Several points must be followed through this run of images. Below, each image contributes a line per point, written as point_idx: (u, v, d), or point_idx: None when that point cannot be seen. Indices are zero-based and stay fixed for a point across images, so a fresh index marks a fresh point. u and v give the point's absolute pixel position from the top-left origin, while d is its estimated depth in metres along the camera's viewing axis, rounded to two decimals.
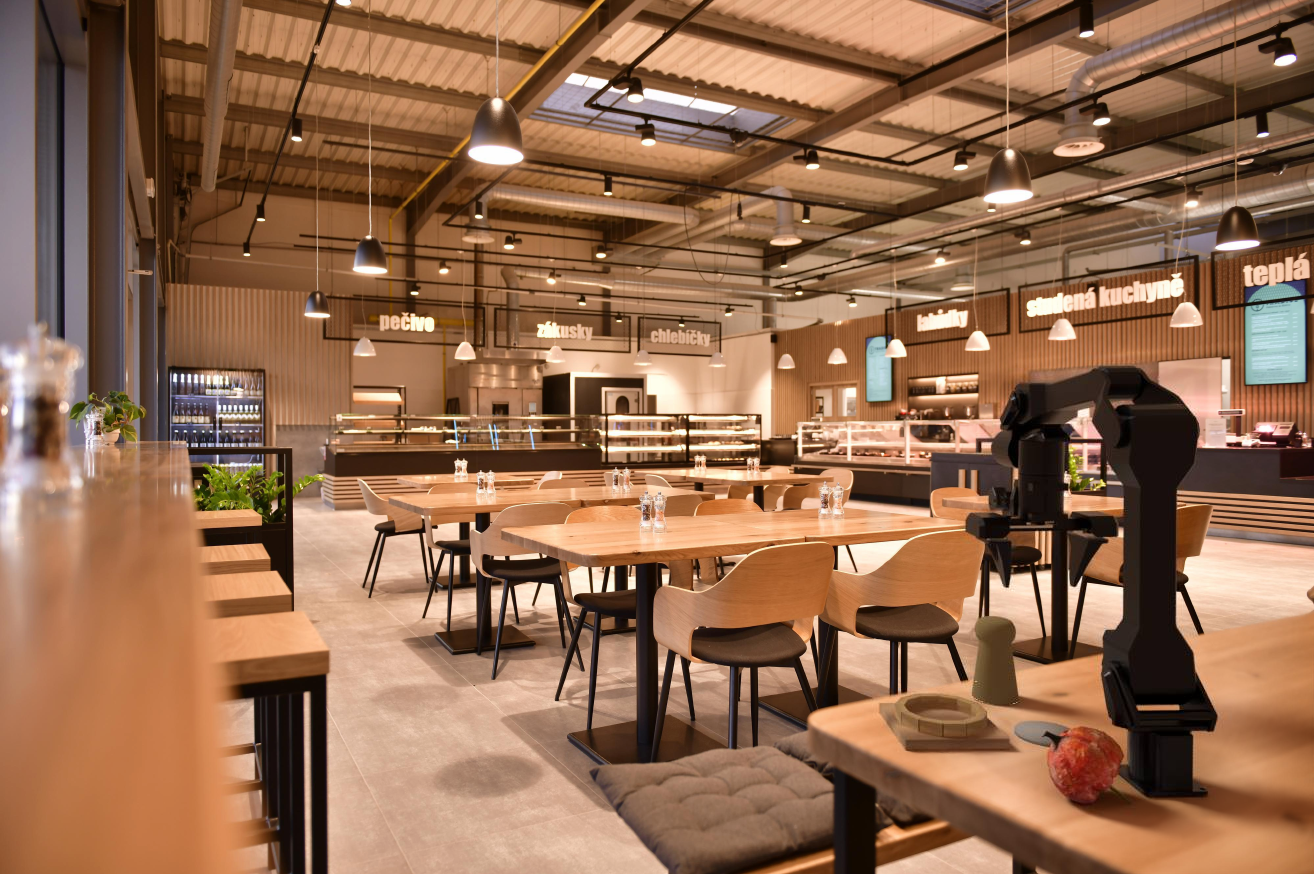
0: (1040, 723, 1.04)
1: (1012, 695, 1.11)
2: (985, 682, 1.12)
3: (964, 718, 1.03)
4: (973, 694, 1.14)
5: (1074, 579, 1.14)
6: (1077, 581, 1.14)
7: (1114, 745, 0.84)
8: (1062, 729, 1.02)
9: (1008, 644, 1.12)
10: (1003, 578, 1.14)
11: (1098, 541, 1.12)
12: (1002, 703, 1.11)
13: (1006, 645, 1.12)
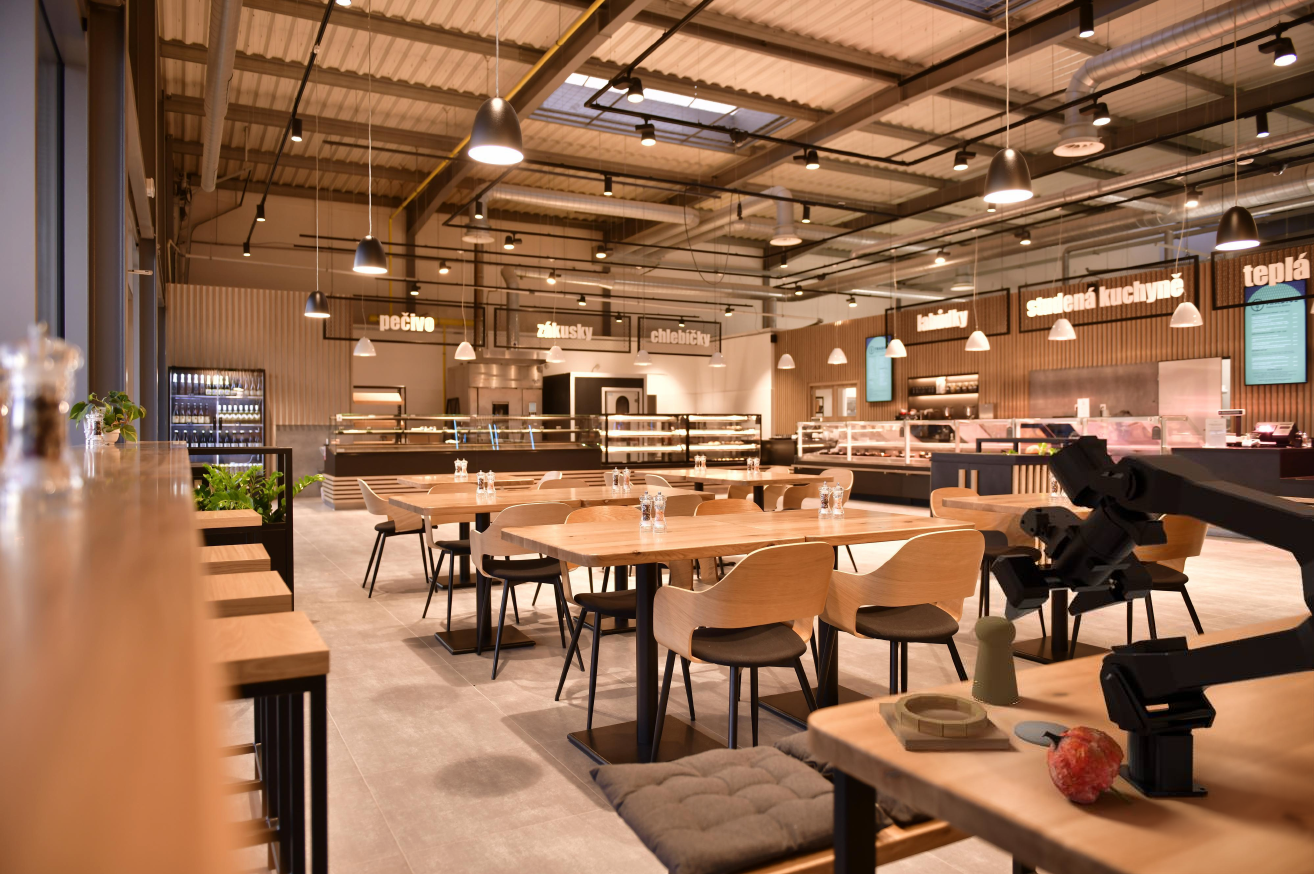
0: (1040, 723, 1.04)
1: (1012, 695, 1.11)
2: (985, 682, 1.12)
3: (964, 718, 1.03)
4: (973, 694, 1.14)
5: (1076, 613, 1.05)
6: (1078, 614, 1.05)
7: (1114, 745, 0.84)
8: (1062, 729, 1.02)
9: (1008, 645, 1.12)
10: (1010, 616, 1.03)
11: (1124, 601, 1.00)
12: (1002, 703, 1.11)
13: (1006, 645, 1.12)
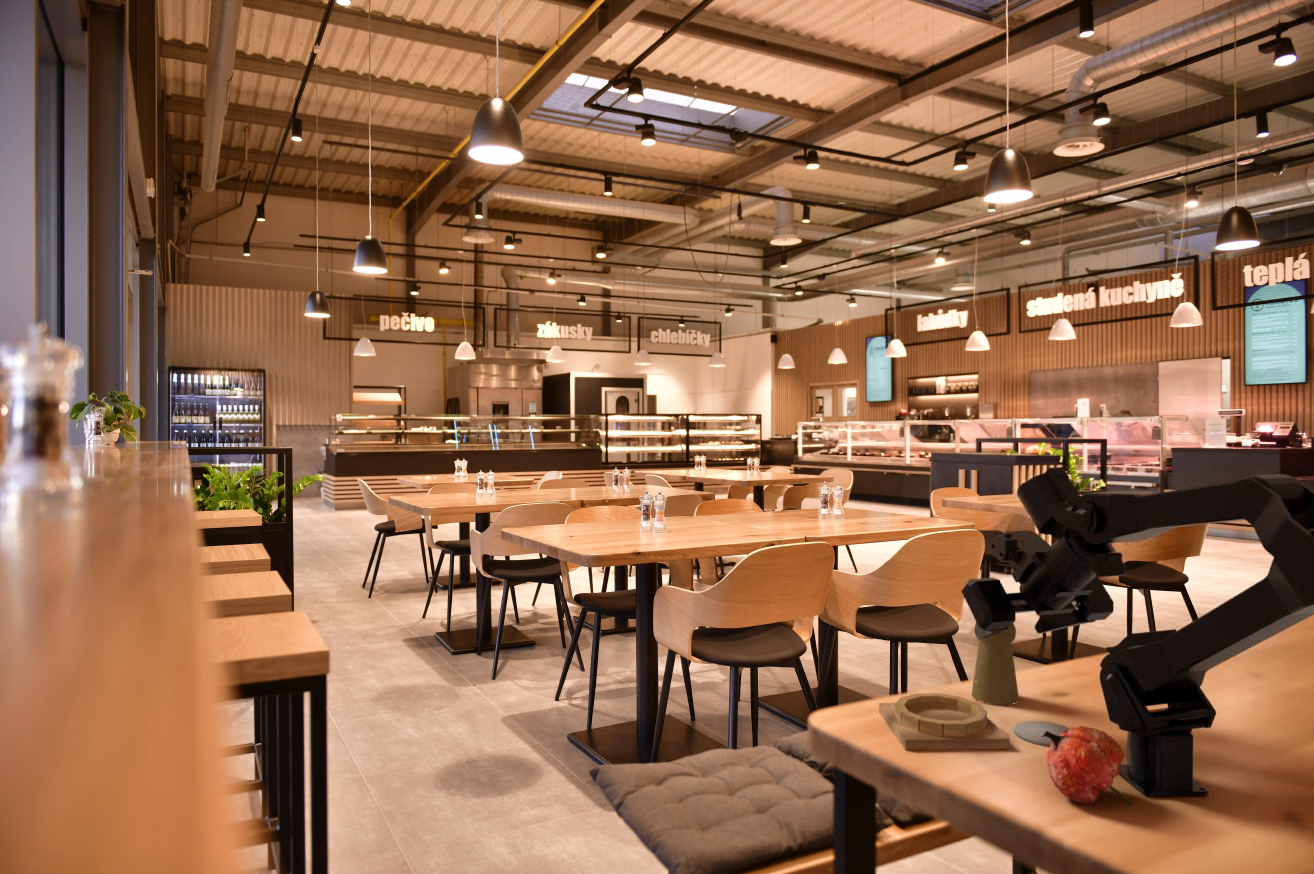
0: (1040, 723, 1.04)
1: (1012, 695, 1.11)
2: (985, 682, 1.12)
3: (964, 718, 1.03)
4: (973, 694, 1.14)
5: (1042, 631, 1.11)
6: (1044, 632, 1.11)
7: (1114, 745, 0.84)
8: (1062, 729, 1.02)
9: (1008, 644, 1.12)
10: (979, 634, 1.09)
11: (1086, 622, 1.06)
12: (1002, 703, 1.11)
13: (1006, 645, 1.12)
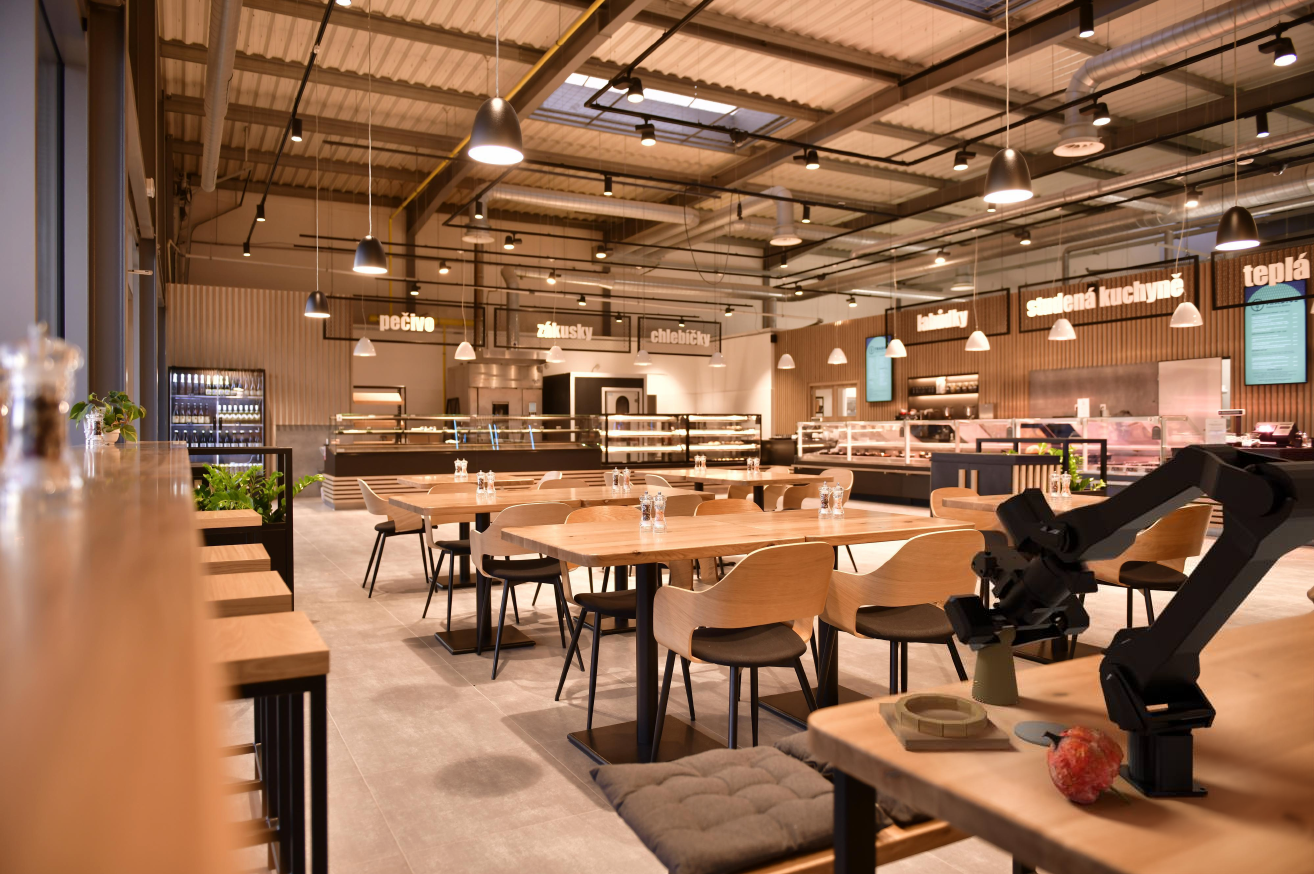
0: (1040, 723, 1.04)
1: (1012, 695, 1.11)
2: (985, 682, 1.12)
3: (964, 718, 1.03)
4: (973, 694, 1.14)
5: None
6: None
7: (1114, 745, 0.84)
8: (1062, 729, 1.02)
9: (1008, 644, 1.12)
10: (973, 647, 1.13)
11: (1051, 638, 1.09)
12: (1002, 703, 1.11)
13: (1006, 645, 1.12)
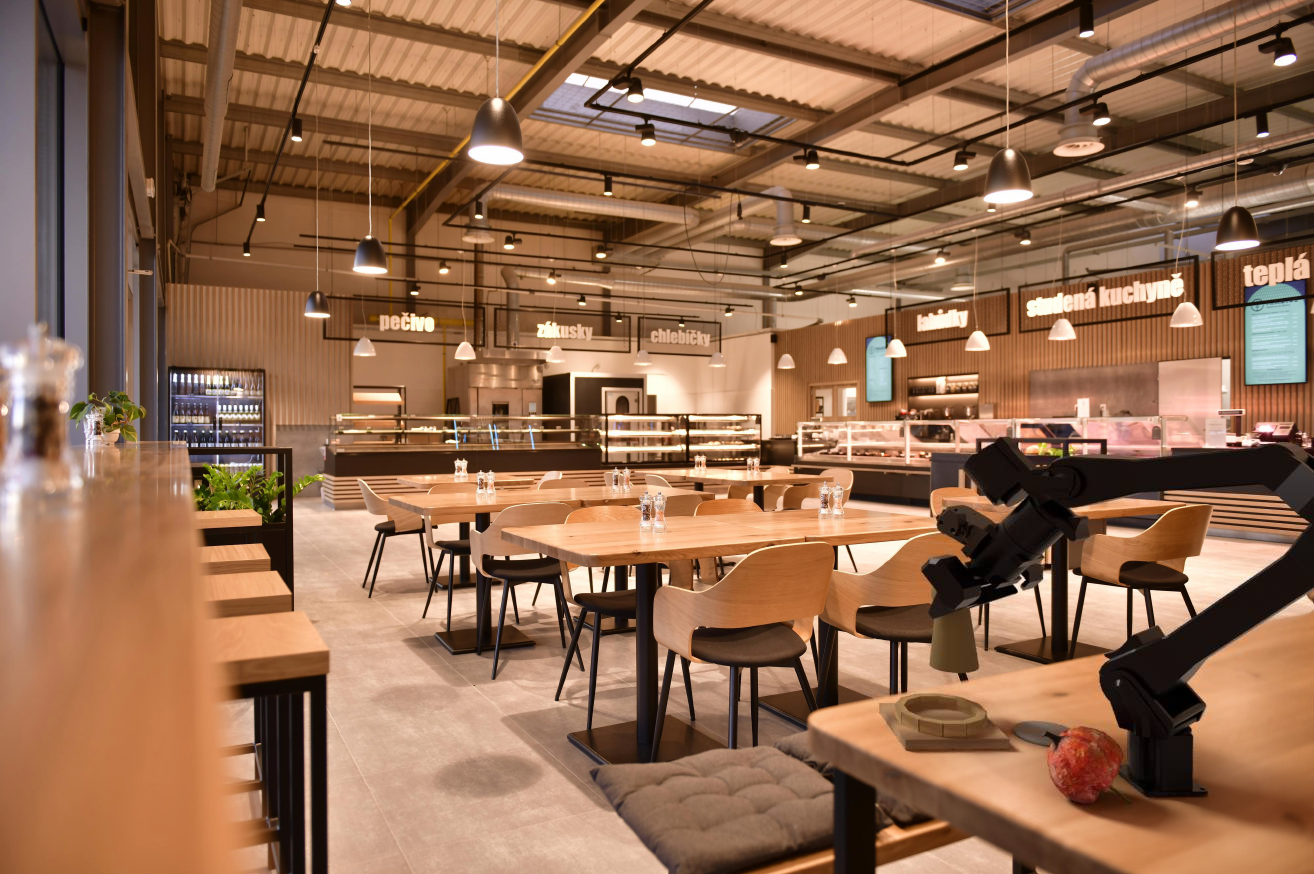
0: (1040, 723, 1.04)
1: (976, 660, 1.05)
2: (950, 650, 1.05)
3: (964, 718, 1.03)
4: (935, 665, 1.06)
5: None
6: None
7: (1114, 745, 0.84)
8: (1062, 729, 1.02)
9: (969, 607, 1.06)
10: (937, 613, 1.05)
11: (1012, 594, 1.05)
12: (969, 670, 1.04)
13: None
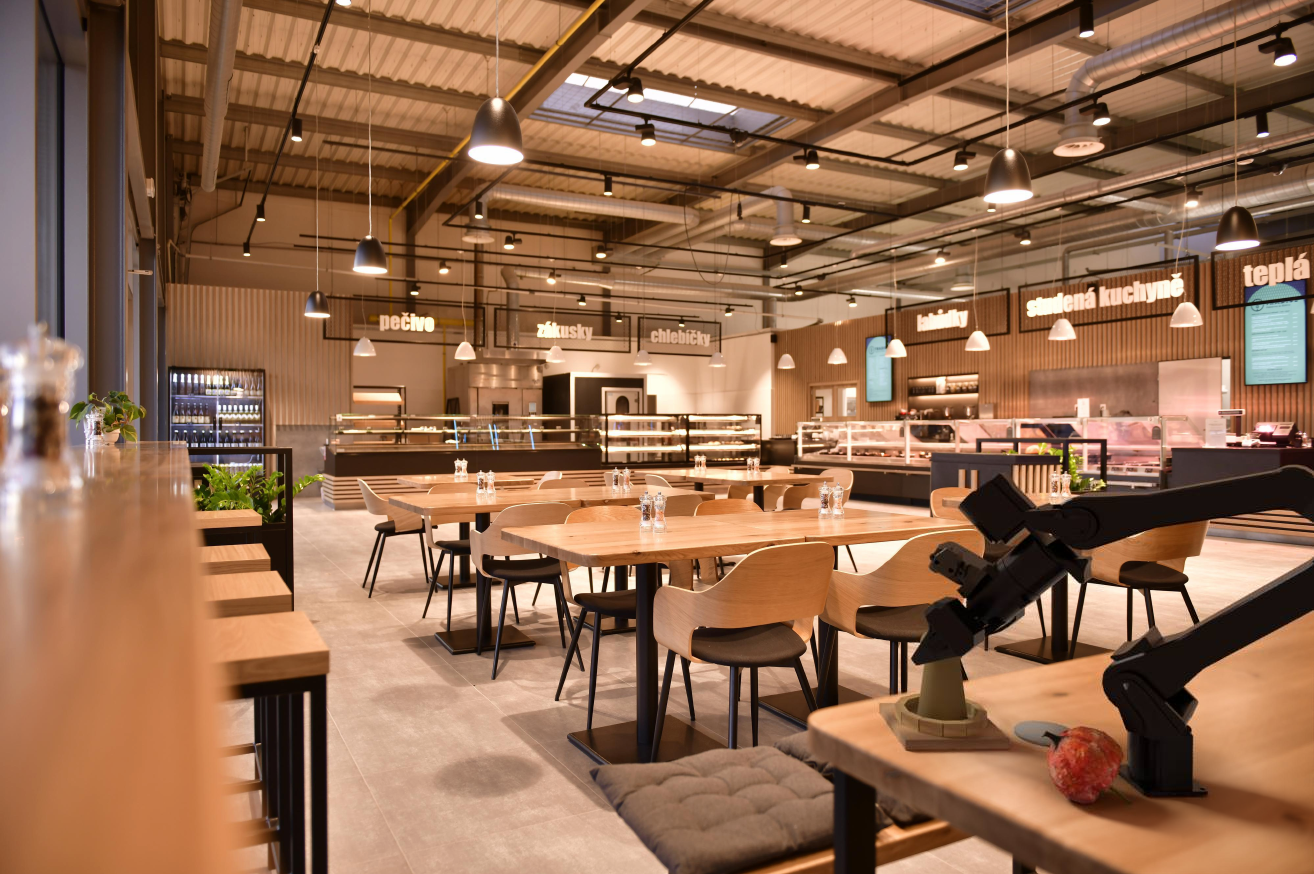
0: (1040, 723, 1.04)
1: (966, 714, 1.02)
2: (943, 705, 1.00)
3: None
4: None
5: None
6: None
7: (1114, 745, 0.84)
8: (1062, 729, 1.02)
9: None
10: (922, 660, 0.99)
11: (1004, 629, 1.04)
12: None
13: (959, 659, 1.02)
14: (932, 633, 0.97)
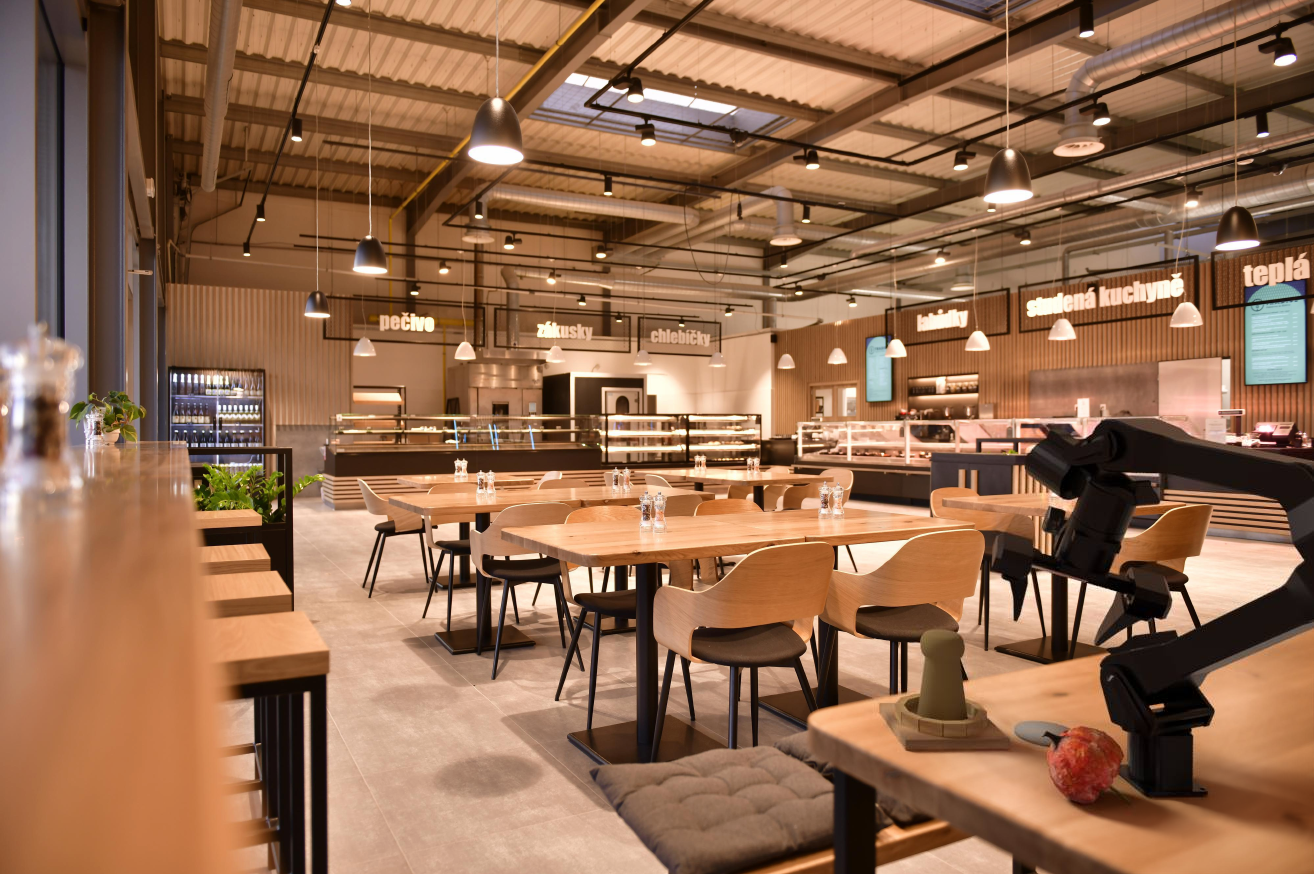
0: (1040, 723, 1.04)
1: (966, 714, 1.02)
2: (943, 705, 1.00)
3: None
4: None
5: (1097, 639, 0.99)
6: (1100, 642, 0.98)
7: (1114, 745, 0.84)
8: (1062, 729, 1.02)
9: None
10: (1013, 611, 1.01)
11: (1136, 616, 0.94)
12: None
13: (959, 659, 1.02)
14: None
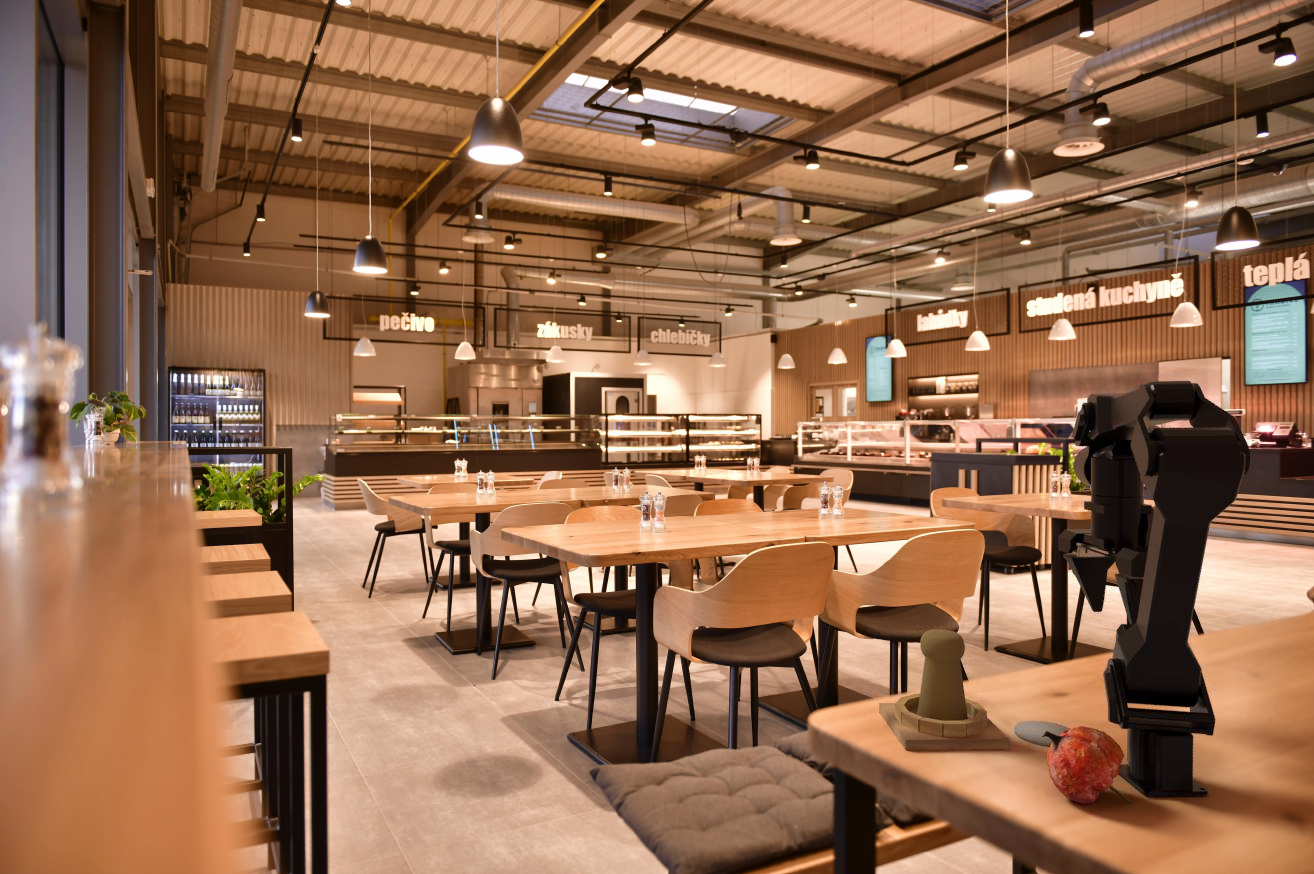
0: (1040, 723, 1.04)
1: (966, 714, 1.02)
2: (943, 705, 1.00)
3: None
4: None
5: (1130, 621, 0.99)
6: (1131, 624, 0.99)
7: (1114, 745, 0.84)
8: (1062, 729, 1.02)
9: None
10: None
11: (1120, 577, 0.97)
12: None
13: (959, 659, 1.02)
14: None
